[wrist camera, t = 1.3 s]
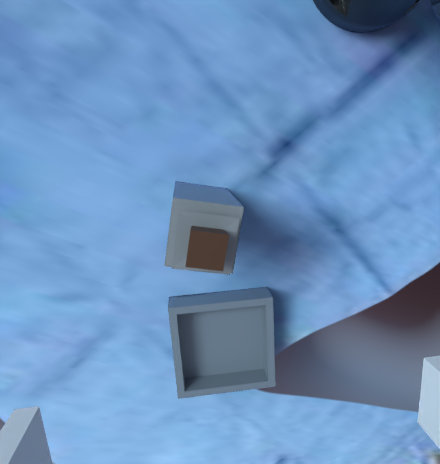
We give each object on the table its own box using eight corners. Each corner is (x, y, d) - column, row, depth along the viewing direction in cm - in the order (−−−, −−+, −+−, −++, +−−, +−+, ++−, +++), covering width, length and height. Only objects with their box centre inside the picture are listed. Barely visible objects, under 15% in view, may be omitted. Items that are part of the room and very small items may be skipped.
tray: (267, 286, 51) (273, 297, 47) (269, 371, 54) (275, 386, 51) (169, 296, 49) (168, 308, 46) (178, 382, 53) (178, 398, 50)
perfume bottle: (219, 237, 48) (239, 292, 31) (169, 231, 47) (161, 284, 30) (226, 188, 47) (253, 217, 29) (175, 181, 46) (171, 206, 28)
